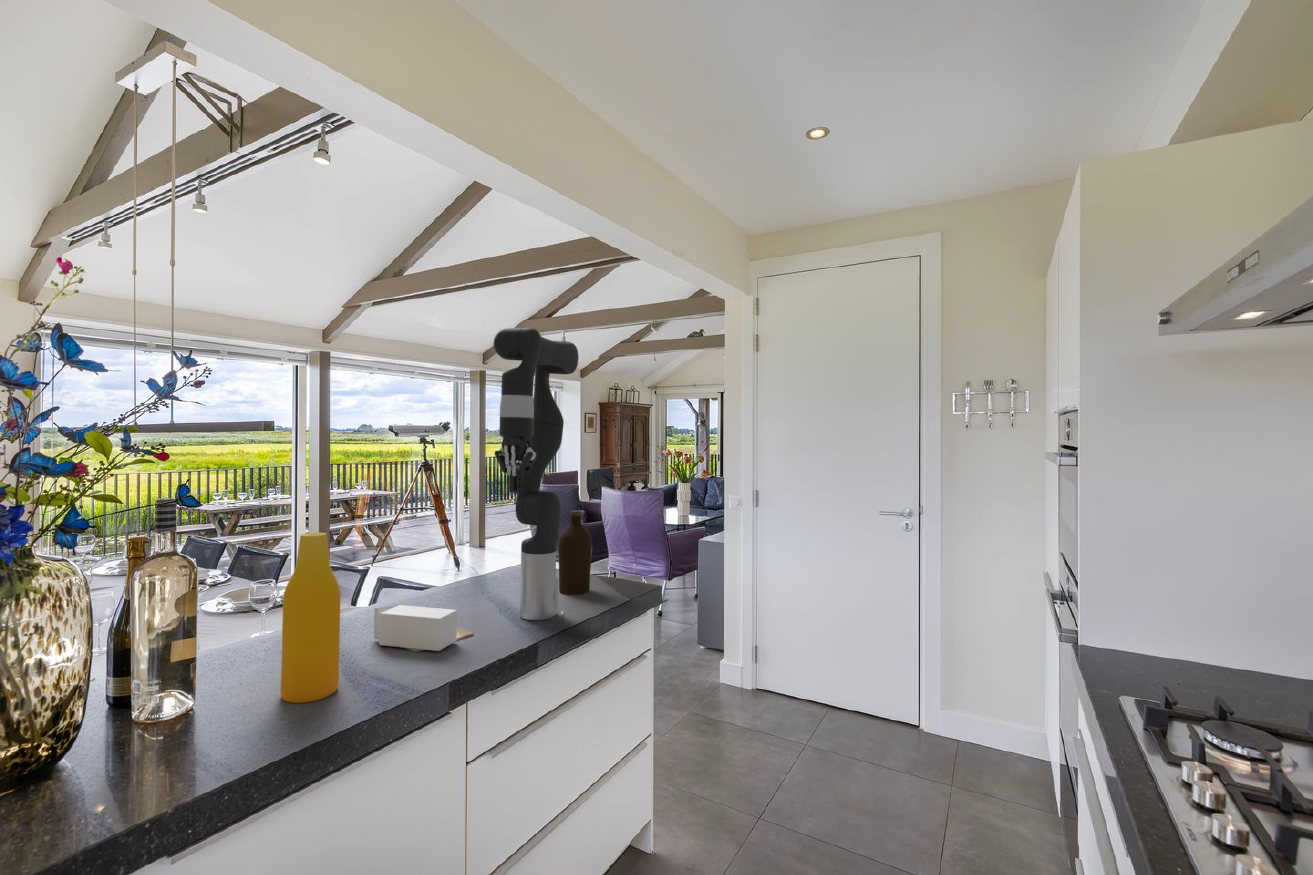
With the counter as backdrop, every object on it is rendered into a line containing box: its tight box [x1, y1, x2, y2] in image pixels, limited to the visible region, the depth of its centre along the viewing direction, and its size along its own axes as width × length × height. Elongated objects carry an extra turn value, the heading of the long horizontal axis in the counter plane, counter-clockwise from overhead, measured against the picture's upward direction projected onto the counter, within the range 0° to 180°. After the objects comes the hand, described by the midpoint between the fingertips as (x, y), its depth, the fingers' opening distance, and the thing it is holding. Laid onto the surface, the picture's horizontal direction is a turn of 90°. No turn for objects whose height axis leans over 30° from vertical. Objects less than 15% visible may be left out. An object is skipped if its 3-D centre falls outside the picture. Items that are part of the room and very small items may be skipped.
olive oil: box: [557, 510, 593, 596], centre depth 185 cm, size 11×11×25 cm
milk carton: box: [373, 604, 458, 652], centre depth 135 cm, size 7×7×19 cm
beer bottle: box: [279, 532, 342, 704], centre depth 109 cm, size 9×9×29 cm
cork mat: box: [405, 627, 475, 653], centre depth 140 cm, size 15×13×1 cm
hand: (515, 492), depth 134 cm, fingers closed
